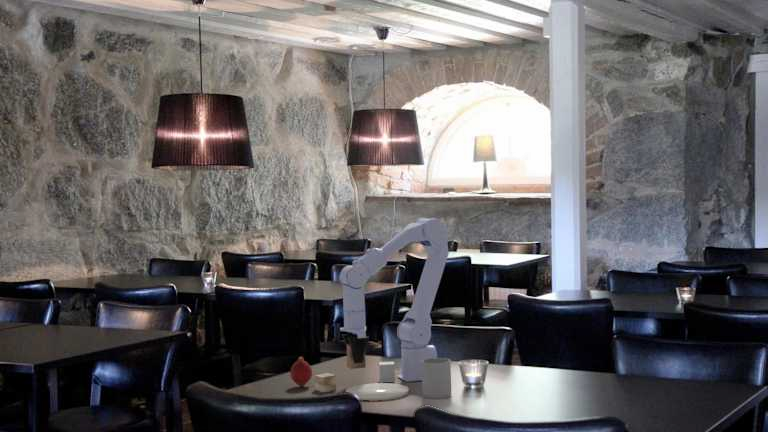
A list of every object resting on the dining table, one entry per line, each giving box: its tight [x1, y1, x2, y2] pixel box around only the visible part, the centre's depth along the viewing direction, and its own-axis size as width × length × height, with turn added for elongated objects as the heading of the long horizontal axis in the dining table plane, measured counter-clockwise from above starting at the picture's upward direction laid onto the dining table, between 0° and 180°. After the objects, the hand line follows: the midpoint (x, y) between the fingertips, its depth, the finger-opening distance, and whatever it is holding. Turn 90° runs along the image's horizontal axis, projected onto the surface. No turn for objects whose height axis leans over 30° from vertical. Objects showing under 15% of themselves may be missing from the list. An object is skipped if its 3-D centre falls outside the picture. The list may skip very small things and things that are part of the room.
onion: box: [290, 356, 313, 388], centre depth 263 cm, size 6×6×8 cm
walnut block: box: [346, 344, 366, 370], centre depth 262 cm, size 4×4×6 cm
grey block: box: [378, 361, 396, 383], centre depth 267 cm, size 4×4×5 cm
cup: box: [421, 357, 452, 400], centre depth 247 cm, size 7×10×9 cm
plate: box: [345, 382, 410, 402], centre depth 251 cm, size 16×16×1 cm
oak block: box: [314, 372, 337, 393], centre depth 258 cm, size 4×4×4 cm
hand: (356, 361), depth 262 cm, fingers closed on walnut block, 4 cm apart
